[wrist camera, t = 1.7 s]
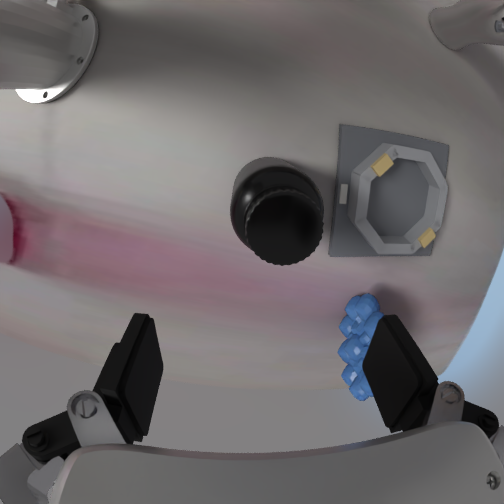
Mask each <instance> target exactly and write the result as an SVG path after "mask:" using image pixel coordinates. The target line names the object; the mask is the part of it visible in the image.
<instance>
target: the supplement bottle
mask: <svg viewBox="0 0 504 504" xmlns="http://www.w3.org/2000/svg"><path fill="white" fill-rule="evenodd" d="M323 214H324V206H323V200H322V197H321V194H320V192H319V189H318V188H317V186H316V185H315V183H314V182H313V181H312V180H311V179H310V178H309V177H308V176H307V175H306V174H304V173H303V172H301V171H300V170H298V169H297V168H295V167H294V166H292V165H291V164H289V163H287V162H286V161H284V160H281V159H278V158H274V157H263V158H259V159H256V160H253V161H251V162H250V163H248V164H247V165H245V166H244V167H243V168H242V169H241V171H240V172H239V173H238V175H237V177H236V179H235V182H234V186H233V192H232V199H231V206H230V216H231V222H232V226H233V229H234V231H235V233H236V234H237V236H238V238H239V239H240V240H241V241H242V242H243V243H244V244H245V245H246V246H247V247H248V248H250V249H251V250H253V251H254V252H255V254H256V255H257V256H259V257H260V258H261V259H262V260H265V261H266V262H268V263H273V264H274V265H278V264H279V265H281V266H283V265H291V264H293V263H298V262H299V261H303V260H304V259H305V258H306V257H309V256H310V255H311V253H312V252H314V251H315V249H316V247H317V246H318V245H319V241H320V240H321V239H322V233H323V225H324V223H323Z"/></svg>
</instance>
